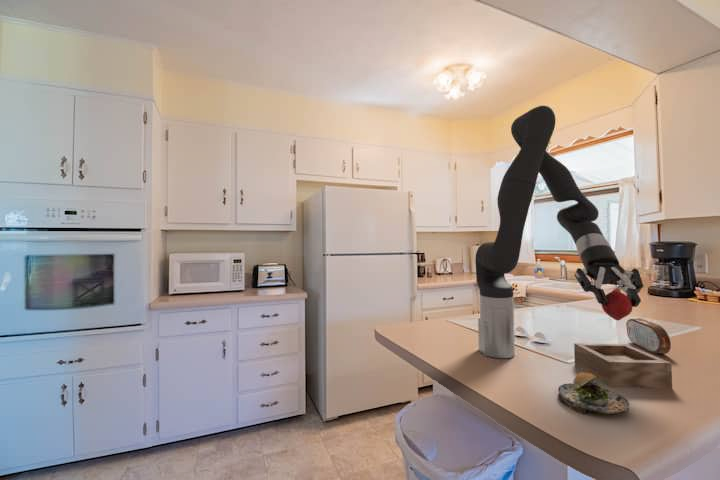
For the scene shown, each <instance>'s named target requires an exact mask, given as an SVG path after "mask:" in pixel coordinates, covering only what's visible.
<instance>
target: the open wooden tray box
mask: <svg viewBox="0 0 720 480" xmlns="http://www.w3.org/2000/svg"><path fill="white" fill-rule="evenodd" d="M573 347H574V365H575V366H576V367H578V369H579V368H580V370H583V372H586V373H591V374H593V375H595V376H596V377H597V378H596V380H598V381H600V382H601V383H603V384H605V385H606V386H608V387H609V388H624V389H625V388H629V389H630V388H633V389H637V388H638V387H639V389H671V390H672V389H673V375H672V374H673V371H672V370H673V369H672V367H673V366H672V365H673V364H672V362H670V361H667V360H666V359H663V358H660V357H658V356H657V355H656V356H655V355H654V354H652V353H650V352H649V353H648V352H646V351H644V350H641V349H639V348H636V347H634V346H633V345H629V344H626V343H588V342H587V343H582V342H581V343H580V342H579V343H578V342H577V343H576V342H575V343H573ZM578 365H579V366H578Z"/></svg>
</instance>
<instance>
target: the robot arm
mask: <svg viewBox="0 0 720 480" xmlns="http://www.w3.org/2000/svg"><path fill="white" fill-rule="evenodd" d="M510 126H511V127H510V131H511V135H512V137H513V140H514V141H515V142H516V144H517V145H518V147H519V148H520V150H519V152H518V153H517V154H516V156H515V158H514V160H512V163H510V166H509V167H508V168H507V170H506V171H505V173H504V176H503V177H502V179H501V180H502V181H501V183H500V187H499V190H498V194H497V199H496V200H497V209H498V213H499V227H498V230H497V234H496V237H495V240H494V241H489V242H488V241H487V242H484V243H482V244H480V246H478V248H477V249H476V253H475V259H474V263H475V277H476V278H475V279H476V284H477V286H478V290H479V318H477V319H478V320H477V321H478V323H477V326H478V329H477V331H478V332H477V333H478V350H479V351H480V352H481V353H482V354H483V356H484V357H492V358H496V359H511V358H513V357H515V356H516V355H515V352H516V351H515V350H516V348H515V313H514V310H515V309H514V306H515V305H514V287H513V286H512V285H511V284H510V283H509V282H508V281H507V280H506V277H505V274H509V273H511V272H512V271H513V270H515V268H516V267H517V266H518V263H519V259H520V254H521V247H522V241H523V235H524V234H523V233H524V228H525V225H526V221H527V219H528V218H527V217H528V214H529V209H530V205H531V202H532V199H533V196H534V193H535V188H536V184H537V180H538V177H539V174H540V176H541V177H542V179H543V181H544V182H545V184H546V186H547V188H548V191H549V192H550V194H551V196H552V199H553V200H554V201H555V202H556V203H563V202H564V203H565V202H569V201H574V202H576V203H574V204H573V203H572V205H569V206H566V207H563V208H561V209H559V211H558V212H557V214H556V220H557V222H558V224H559V225H560V226H561V227H562V228H563V229H564V230H565V231H566V232H568V233H569V235H570V236H571V238H572V240H573V242H574V245H575V247H576V251H577V254H578V256H579V258H580V260H581V262H582V265H583V267H584V269H582V268H577V269H576V271H575V273H574V277H575V279H576V281H577V282H578V283H579V285H580V287H581V288H582V290H583V291H584V292H586V293H588V292H591V293H592V294H593V295H594V296H595V299H596V301H597V303H598V304H600V306H601V307H602V306H606V305H607V303H608V299H607V297H606V295H607V294H606V292H605V291H604V289H603V288H602V286H603V285H612V286H614V287H615V288H619V289H621V290H622V291H623V292H624V294H626V296H627V297H628V298H629V299H630V300H631V303H632V308H637V307H638V306H639V305H640V303H641V299H642V298H640V296H639V293H640V292H641V290H642V289H643V288H644V283H643V280H642V278H641V275H640V271H639V269H638V268H633V269H631V270H628V269H625V268H624V267H622V266H621V264H620V261H619V259H618V257H617V256H616V254H615V252H614V250H613V248H612V246H611V244H610V242H609V241H608V240H607V238H606V237H605V236H604V234H603V232H602V230H601V229H600V227H599V225H598V224H597V223H595V222H594V221H596V220H597V219H598V217H599V210H598V208H597V207H596V206H595V204H594V203H593V202H591V200H589V199H588V198H587V196H585V194H583V192H582V191H581V189H580V188H579V186H578V184H577V183H576V181H575V179H574V177H573V174H572V173H571V172H570V169H569V168H568V167H567V166H566V165H565V164H563V163H562V162H561V161H559V160H558V159H557V158H556V157H555V156H553V155H552V154H550V153H549V152H548V150H547V148H548V145H549V143H550V142H551V139H552V136H553V134H554V131H555V127H556V115H555V112H554V110H553V109H552V107H550V106H549V105H539V106H536V107H534V108H532V109H530V110H528V111H527V112H525V113H523V114H522V115H520V116H518V117H517V118H516V119H515V120H514V121H513V122H512V123H511V125H510ZM588 277H589V278H591V279H592V280H593V283H592V282H591V281H590V279H589V278H588Z"/></svg>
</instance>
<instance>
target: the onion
mask: <svg viewBox="0 0 720 480" xmlns="http://www.w3.org/2000/svg"><path fill="white" fill-rule="evenodd" d="M621 290H622V289H619V288H617V287H615V288H614V289H613V290H612V291H611V292H609V293H607V294H605V295H606V297H607V299H608V303H607V305H606V306H602V305H601V308H602V310H603V312H605V314H607V315H608V316H609V317H610V318H611V319H613V320H615V321H621V320H622V319H624V318H625V317H627V316H629V315H631V313H632V312H633V307H632V303H631V300H630V299H629V298H628V297H627V294H626V293H623V292H621Z"/></svg>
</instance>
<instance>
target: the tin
mask: <svg viewBox="0 0 720 480" xmlns="http://www.w3.org/2000/svg"><path fill="white" fill-rule="evenodd" d="M625 325H626V326H625V327H626V335H627V338H629V340H630V341H631V342H632V344H634V345H635V344H636V345H635V346H637V347H639V348H642V349H644V350H646V351H648V352H649V353H650V354H654V355H655V354H656V355H657V354H660V355H661V354H662V355H666V354H668V353H669V352H670V350H671V346H672V343H671V339H670V336H669V334H668V332H667V331H666V329H665V328H664V327H663V326H661V325H660V324H657V323H655V322H652V321H648V320H647V319H643V318H641V317H639V318H638V317H637V318H630V319H627V321H626V324H625Z"/></svg>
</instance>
